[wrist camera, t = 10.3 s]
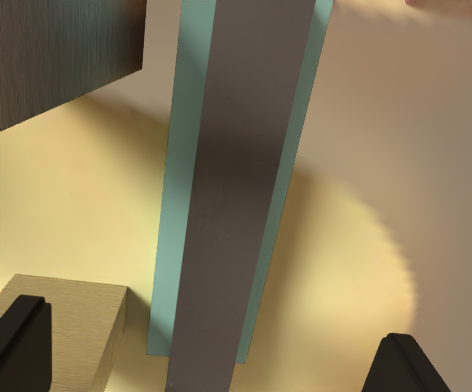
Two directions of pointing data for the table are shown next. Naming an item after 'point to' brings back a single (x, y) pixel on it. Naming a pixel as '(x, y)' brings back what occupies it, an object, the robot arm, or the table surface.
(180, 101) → the mat
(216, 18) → the rail
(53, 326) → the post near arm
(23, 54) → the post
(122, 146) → the table surface
